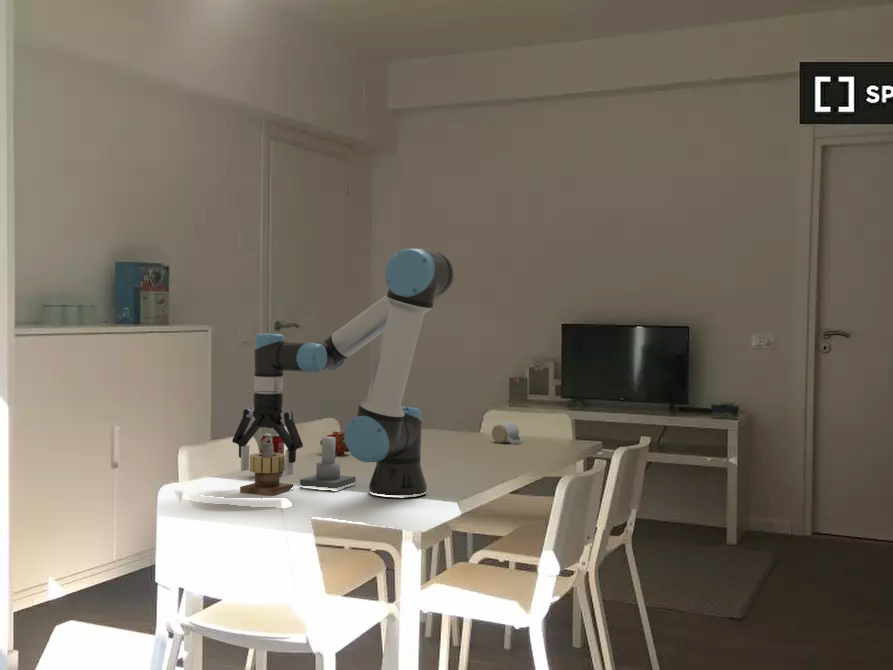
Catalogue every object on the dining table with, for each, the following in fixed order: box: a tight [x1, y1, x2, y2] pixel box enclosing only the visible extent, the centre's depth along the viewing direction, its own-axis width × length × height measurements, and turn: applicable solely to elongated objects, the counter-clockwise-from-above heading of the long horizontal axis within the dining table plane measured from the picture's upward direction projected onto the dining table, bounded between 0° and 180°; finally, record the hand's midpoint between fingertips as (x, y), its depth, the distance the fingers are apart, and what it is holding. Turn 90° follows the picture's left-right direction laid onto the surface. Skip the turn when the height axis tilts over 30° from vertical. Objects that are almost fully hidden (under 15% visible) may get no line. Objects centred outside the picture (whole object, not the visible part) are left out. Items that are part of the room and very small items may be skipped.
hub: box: [299, 436, 357, 488], centre depth 265 cm, size 11×11×13 cm
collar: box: [249, 452, 285, 474], centre depth 257 cm, size 9×9×4 cm
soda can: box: [259, 432, 285, 475], centre depth 281 cm, size 7×7×12 cm
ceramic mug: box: [491, 420, 522, 445], centre depth 361 cm, size 11×8×8 cm
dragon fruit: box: [319, 430, 350, 456], centre depth 324 cm, size 8×8×12 cm
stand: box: [239, 443, 294, 497], centre depth 257 cm, size 10×10×12 cm
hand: (266, 472), depth 257 cm, fingers open, 13 cm apart
